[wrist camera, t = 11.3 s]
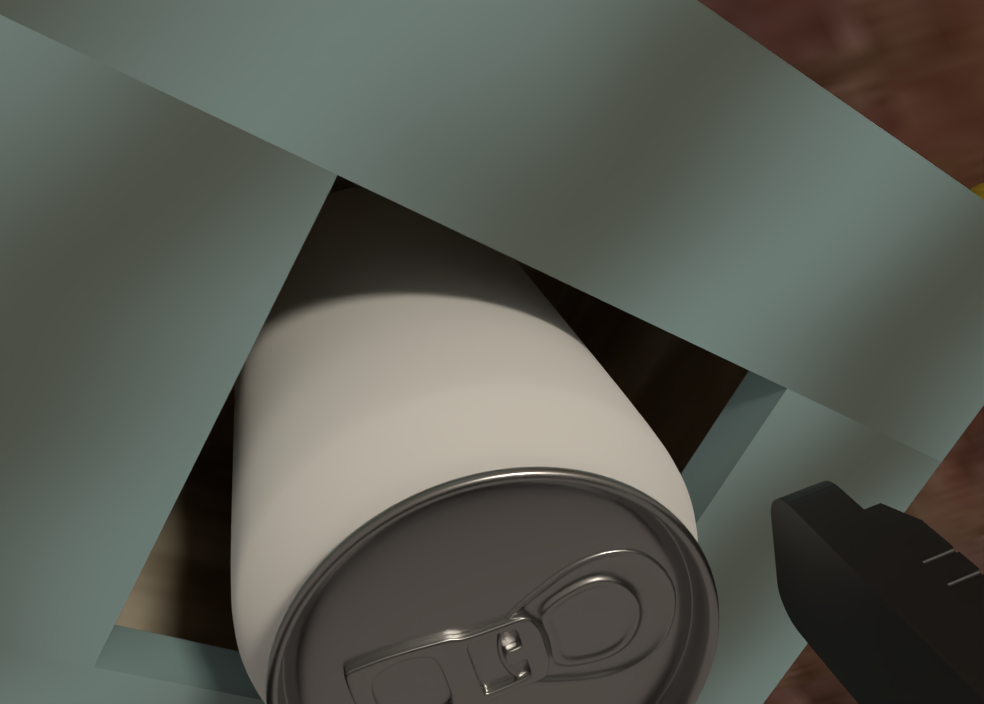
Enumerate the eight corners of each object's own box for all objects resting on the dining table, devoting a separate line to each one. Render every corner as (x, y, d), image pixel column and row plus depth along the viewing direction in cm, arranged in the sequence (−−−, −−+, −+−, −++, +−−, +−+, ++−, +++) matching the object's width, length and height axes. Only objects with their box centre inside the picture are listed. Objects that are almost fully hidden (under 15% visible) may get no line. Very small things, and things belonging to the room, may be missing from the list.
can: (541, 384, 24) (781, 752, 13) (296, 472, 23) (337, 935, 12) (473, 138, 21) (711, 354, 10) (190, 232, 20) (126, 566, 10)
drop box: (694, 109, 28) (1084, 269, 16) (442, 535, 32) (600, 923, 20) (166, -221, 21) (141, -387, 9) (-72, 378, 25) (-315, 831, 13)
